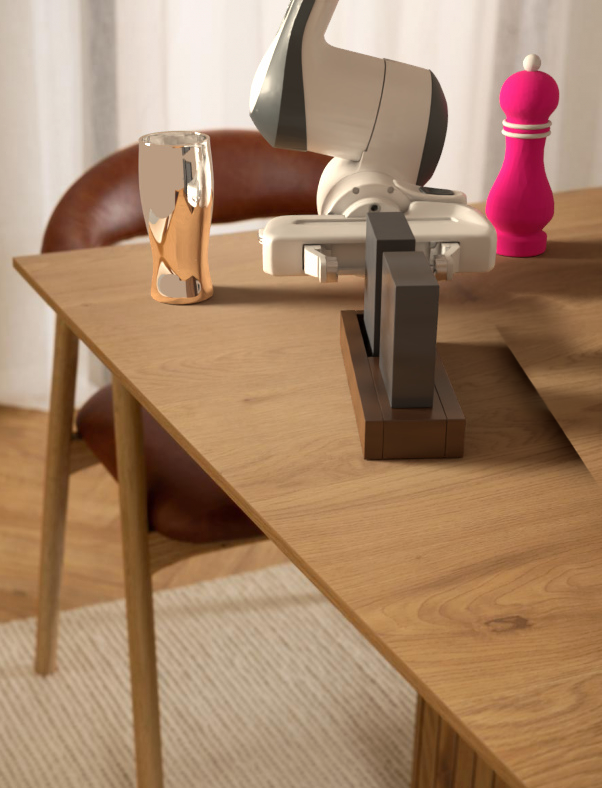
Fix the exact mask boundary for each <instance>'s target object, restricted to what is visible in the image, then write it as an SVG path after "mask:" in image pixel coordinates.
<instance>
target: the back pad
mask: <svg viewBox="0 0 602 788" xmlns="http://www.w3.org/2000/svg"><path fill="white" fill-rule="evenodd" d="M415 245H416V239H415V237H414V235H413V233H412V231H411V228H410V226H409V224H408V222H407V220H406V217H405V215H404V213H403V212H367V215H366V254H365V278H364V295H363V296H364V297H363V310H364V331H363V342H364V346H365V350H366V354H367V358H368V357H379V356H380V325H381V294H382V263H383V252H408V251H415Z"/></svg>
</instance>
